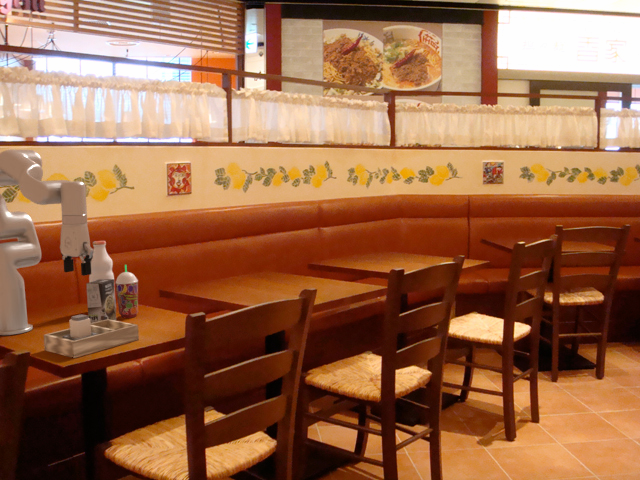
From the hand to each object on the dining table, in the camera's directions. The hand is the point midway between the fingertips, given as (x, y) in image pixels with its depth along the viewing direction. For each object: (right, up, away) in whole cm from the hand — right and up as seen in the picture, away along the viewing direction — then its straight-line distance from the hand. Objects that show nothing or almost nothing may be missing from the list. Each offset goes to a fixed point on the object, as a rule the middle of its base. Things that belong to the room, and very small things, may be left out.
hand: (77, 273), depth 213 cm
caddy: (+4, -23, +2) cm, 24 cm away
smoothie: (+5, -19, +41) cm, 45 cm away
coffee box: (-1, -20, +29) cm, 36 cm away
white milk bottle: (-8, -18, +52) cm, 55 cm away
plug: (+2, -22, -2) cm, 23 cm away
